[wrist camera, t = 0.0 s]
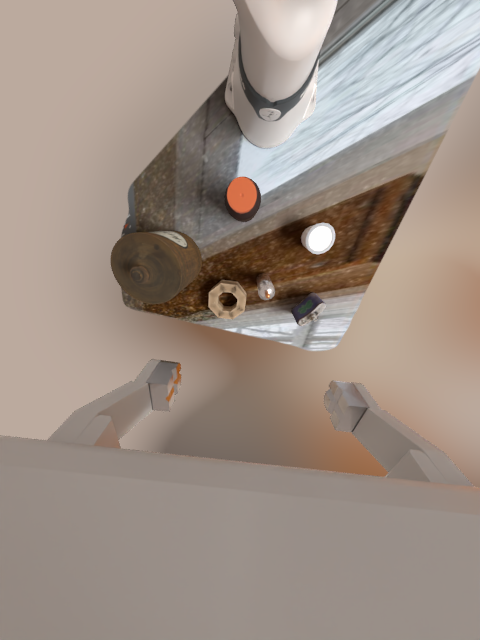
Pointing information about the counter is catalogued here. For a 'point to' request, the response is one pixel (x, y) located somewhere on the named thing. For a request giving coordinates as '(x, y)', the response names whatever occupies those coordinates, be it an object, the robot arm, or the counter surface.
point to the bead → (227, 311)
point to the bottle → (242, 198)
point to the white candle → (265, 286)
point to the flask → (308, 309)
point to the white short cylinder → (318, 238)
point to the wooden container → (155, 264)
